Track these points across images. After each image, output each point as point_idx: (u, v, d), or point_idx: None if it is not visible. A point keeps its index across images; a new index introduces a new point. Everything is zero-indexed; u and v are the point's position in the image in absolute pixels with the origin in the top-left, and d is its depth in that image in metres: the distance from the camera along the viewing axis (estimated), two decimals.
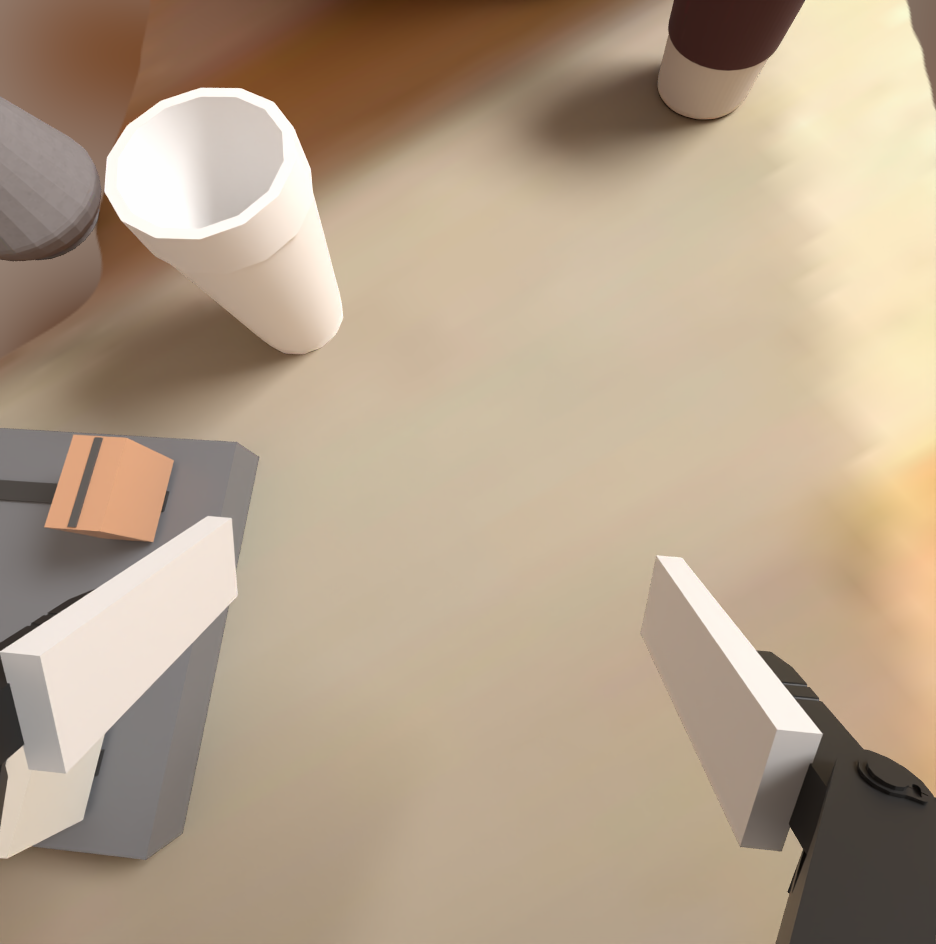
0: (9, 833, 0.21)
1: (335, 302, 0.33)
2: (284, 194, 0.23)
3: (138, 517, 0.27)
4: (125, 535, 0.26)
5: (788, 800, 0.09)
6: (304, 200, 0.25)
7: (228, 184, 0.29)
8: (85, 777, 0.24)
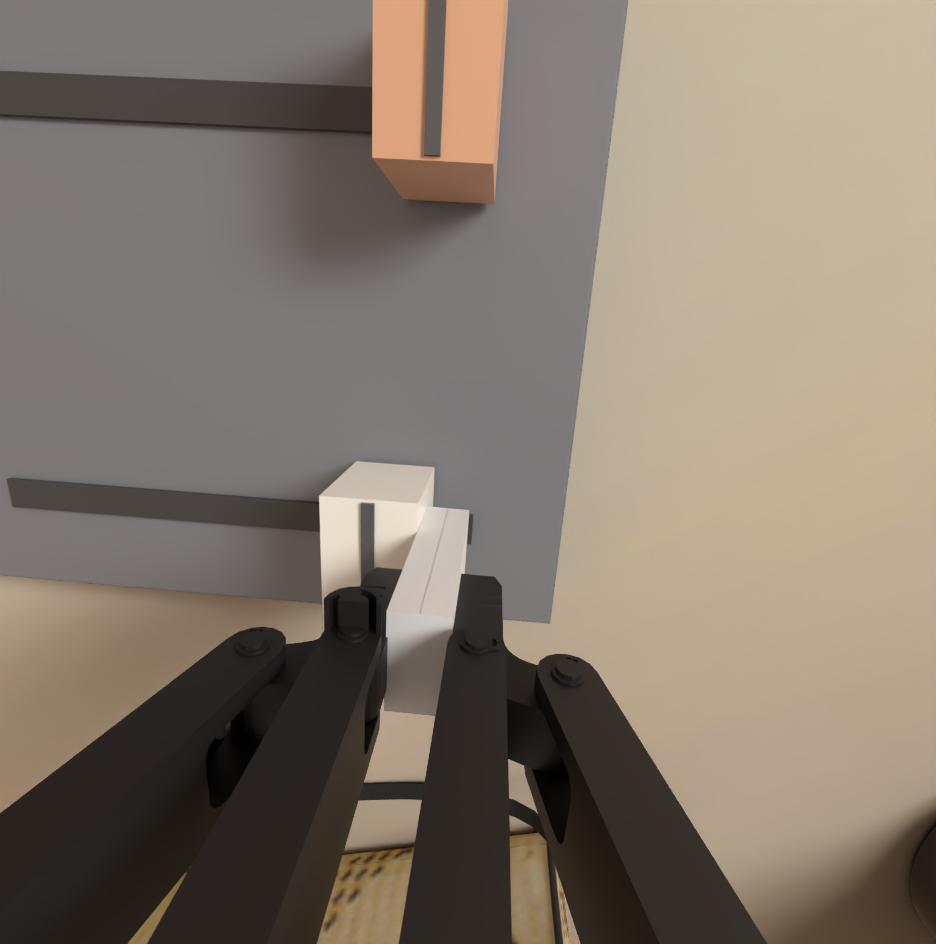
0: None
1: None
2: None
3: (497, 144, 0.14)
4: (493, 182, 0.14)
5: (440, 673, 0.11)
6: None
7: None
8: None
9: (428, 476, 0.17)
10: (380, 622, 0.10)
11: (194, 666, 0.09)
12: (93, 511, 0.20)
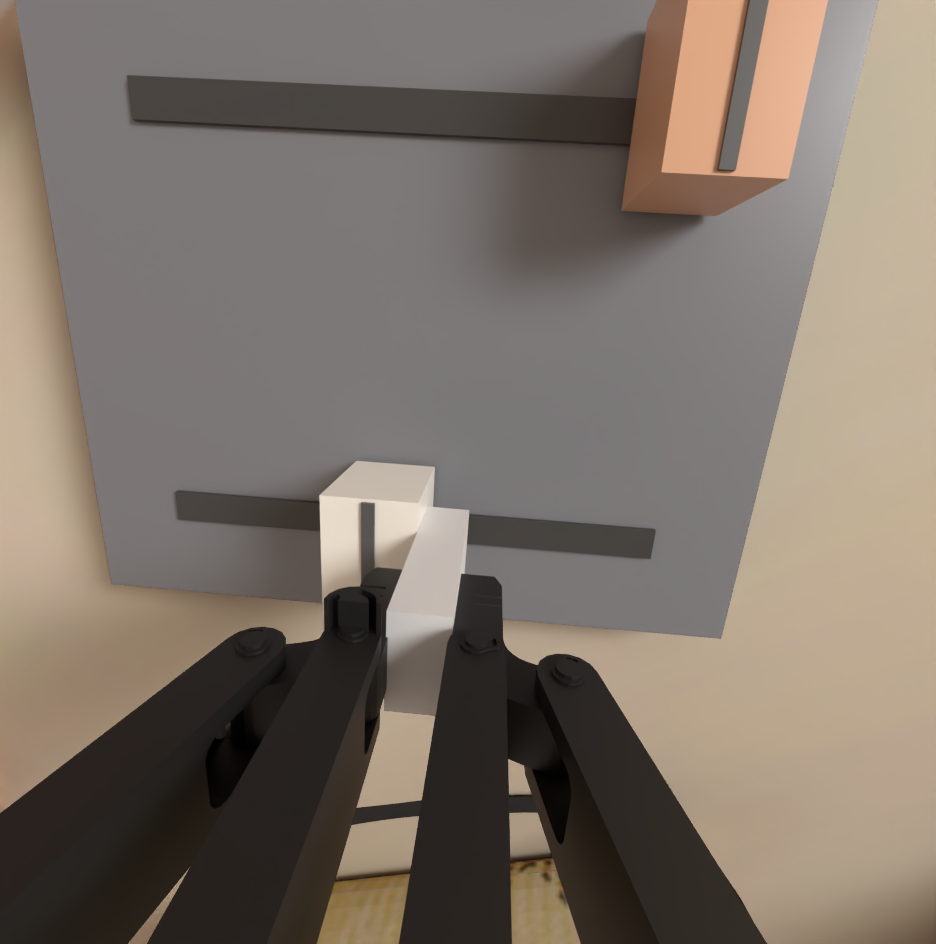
0: None
1: None
2: None
3: None
4: (750, 195, 0.13)
5: (440, 673, 0.11)
6: None
7: None
8: None
9: (428, 476, 0.17)
10: (381, 622, 0.10)
11: (194, 666, 0.09)
12: (261, 524, 0.20)
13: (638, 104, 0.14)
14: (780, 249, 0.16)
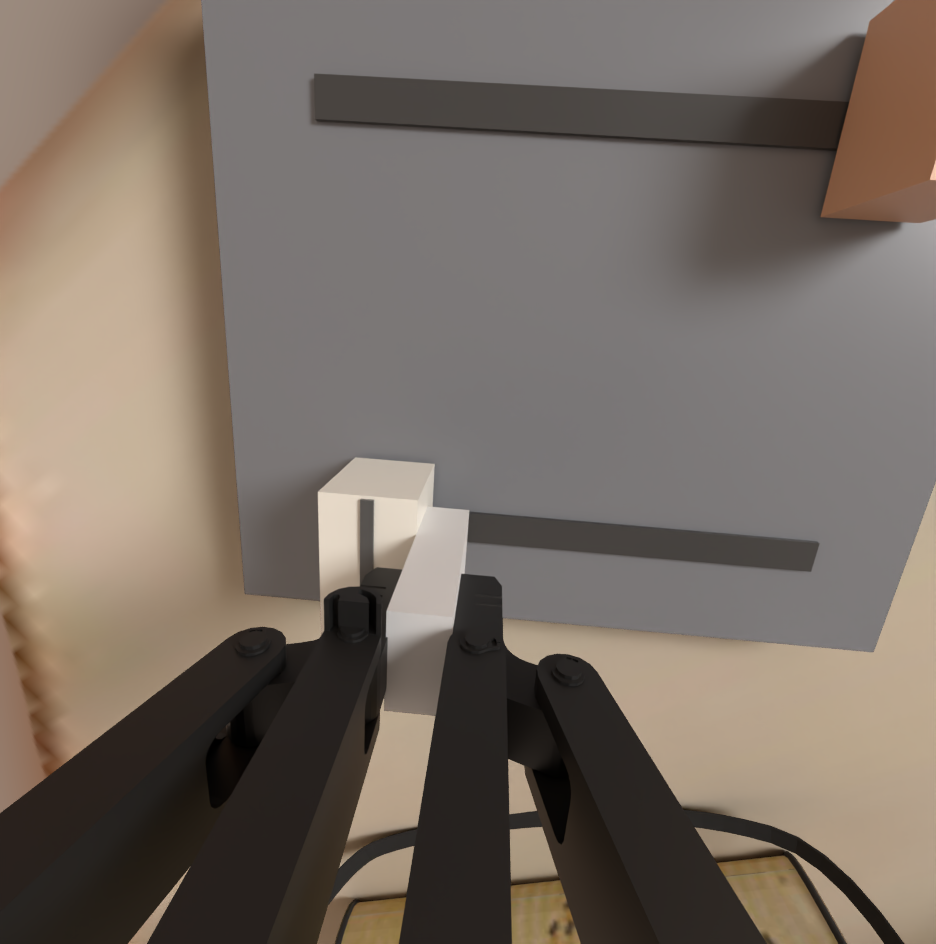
0: None
1: None
2: None
3: None
4: None
5: (440, 673, 0.11)
6: None
7: None
8: None
9: (428, 473, 0.17)
10: (381, 622, 0.10)
11: (194, 666, 0.09)
12: None
13: (855, 108, 0.14)
14: None
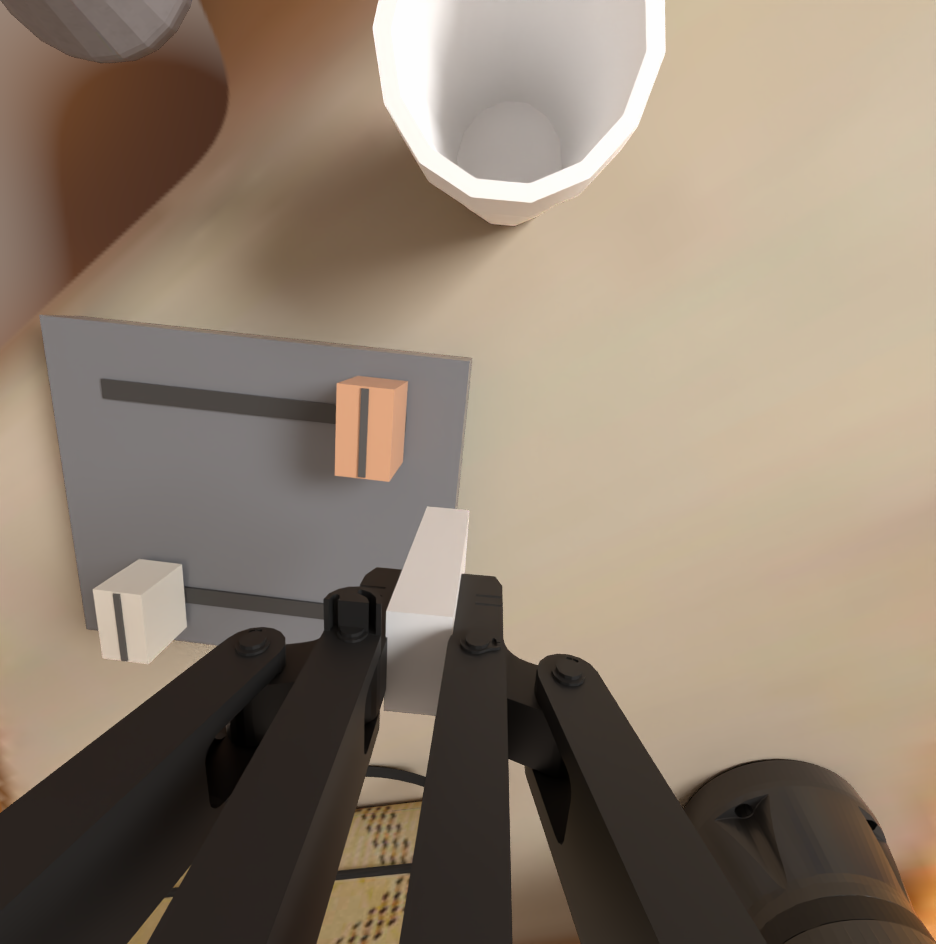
0: (143, 651, 0.31)
1: None
2: None
3: (398, 450, 0.28)
4: (395, 471, 0.28)
5: (441, 673, 0.11)
6: None
7: (480, 2, 0.19)
8: (179, 606, 0.33)
9: (169, 572, 0.32)
10: (380, 622, 0.10)
11: (194, 666, 0.09)
12: None
13: None
14: (439, 477, 0.31)
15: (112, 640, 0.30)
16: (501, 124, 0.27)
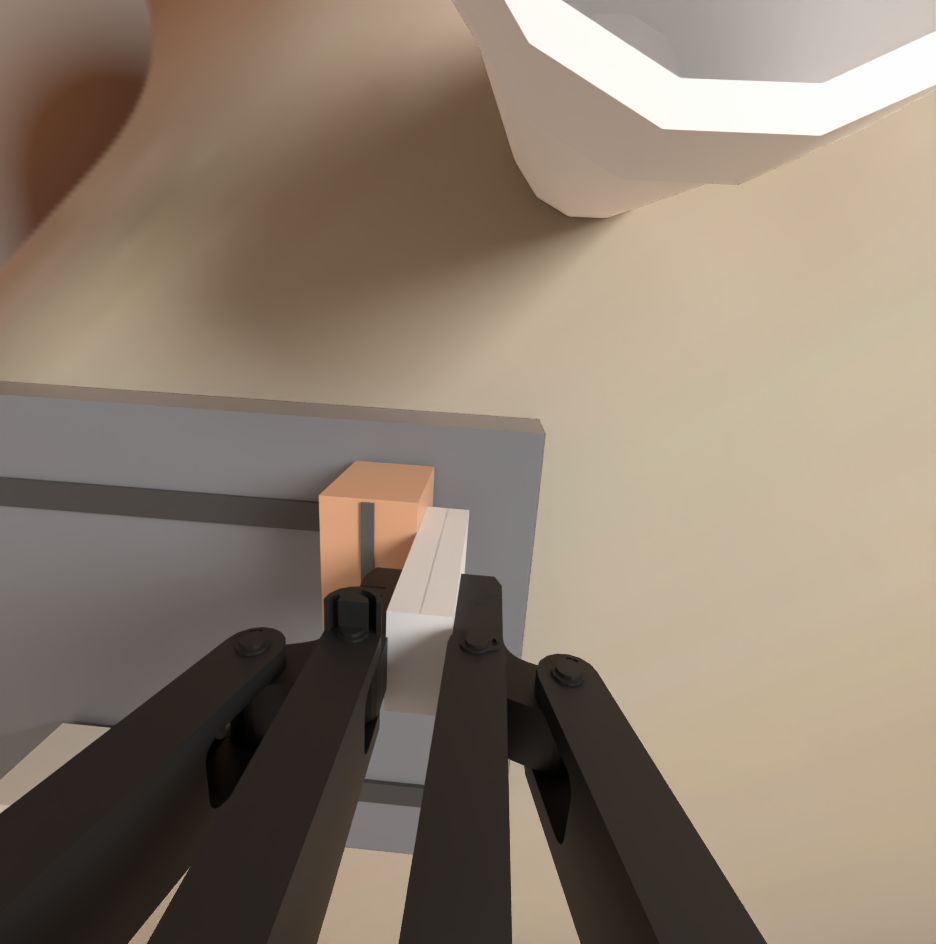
0: None
1: None
2: None
3: None
4: None
5: (440, 673, 0.11)
6: None
7: None
8: None
9: None
10: (381, 622, 0.10)
11: (194, 666, 0.09)
12: None
13: None
14: None
15: None
16: None
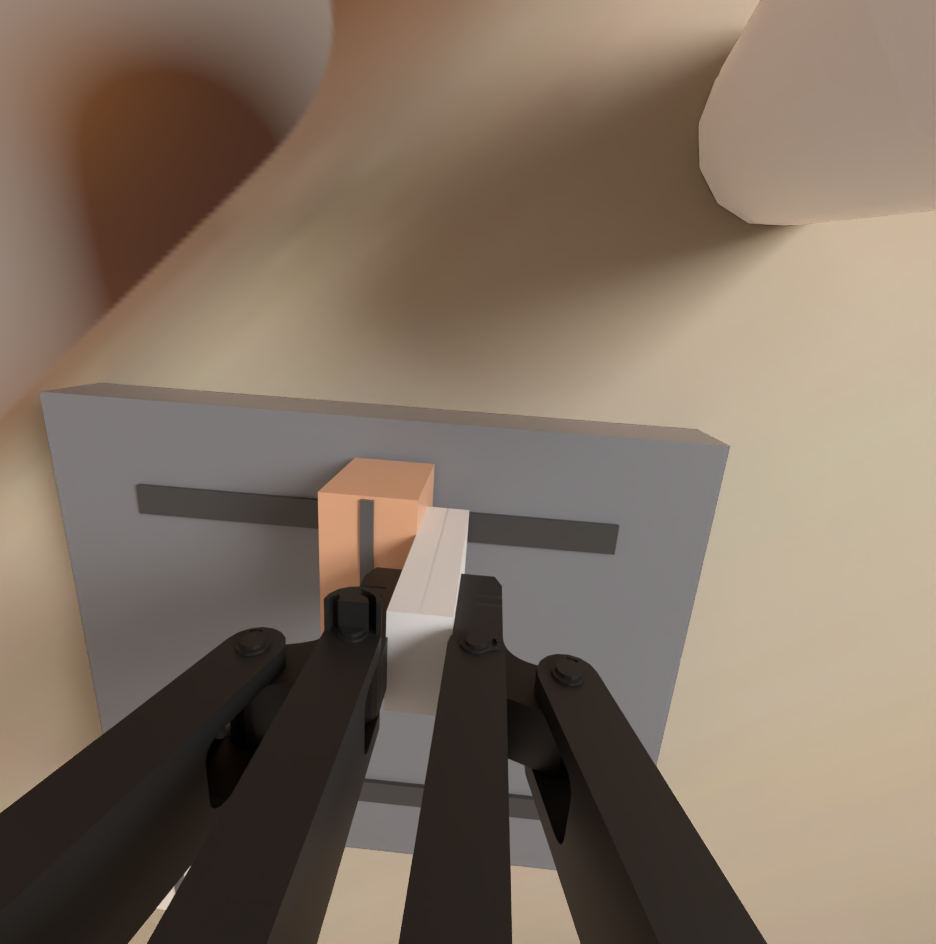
0: None
1: None
2: None
3: None
4: None
5: (440, 673, 0.11)
6: None
7: None
8: None
9: None
10: (381, 622, 0.10)
11: (194, 666, 0.09)
12: None
13: None
14: (661, 617, 0.20)
15: None
16: None
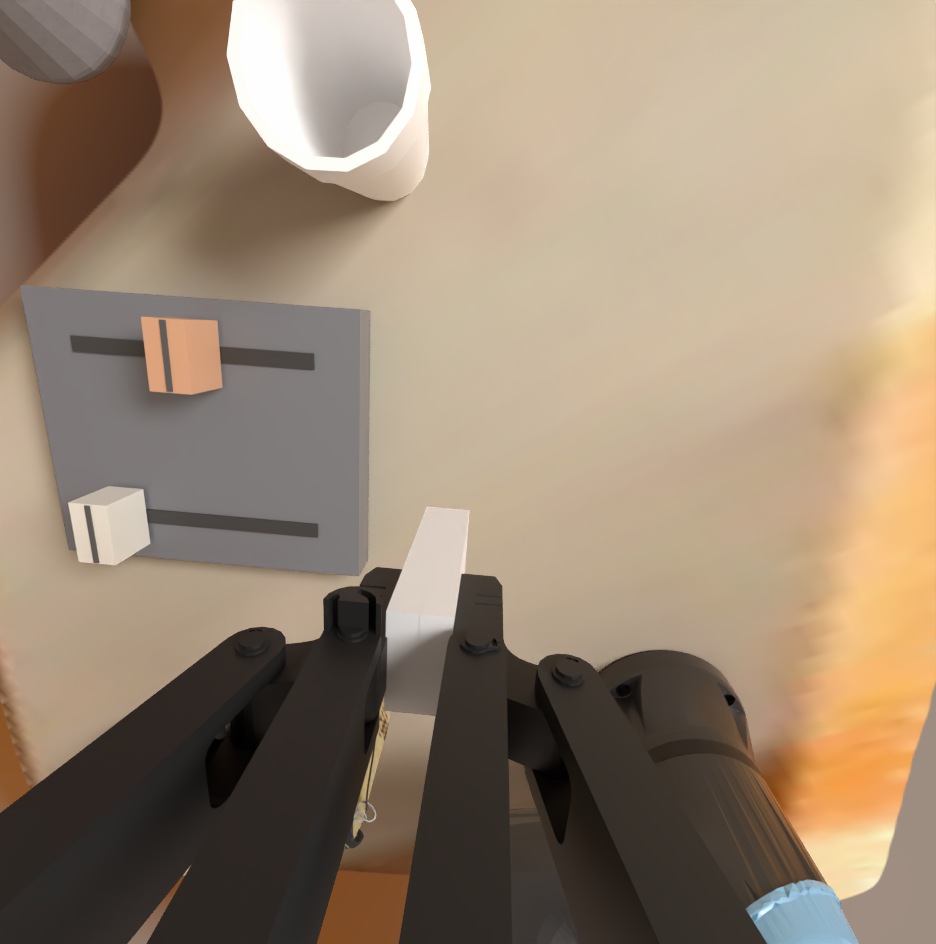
0: (111, 554, 0.38)
1: (427, 150, 0.33)
2: (416, 108, 0.24)
3: (209, 374, 0.36)
4: (205, 390, 0.36)
5: (441, 673, 0.11)
6: (426, 95, 0.25)
7: (321, 31, 0.26)
8: (142, 524, 0.41)
9: (132, 493, 0.39)
10: (380, 622, 0.10)
11: (194, 666, 0.09)
12: None
13: None
14: (345, 406, 0.38)
15: (85, 545, 0.38)
16: (374, 120, 0.34)
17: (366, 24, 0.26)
